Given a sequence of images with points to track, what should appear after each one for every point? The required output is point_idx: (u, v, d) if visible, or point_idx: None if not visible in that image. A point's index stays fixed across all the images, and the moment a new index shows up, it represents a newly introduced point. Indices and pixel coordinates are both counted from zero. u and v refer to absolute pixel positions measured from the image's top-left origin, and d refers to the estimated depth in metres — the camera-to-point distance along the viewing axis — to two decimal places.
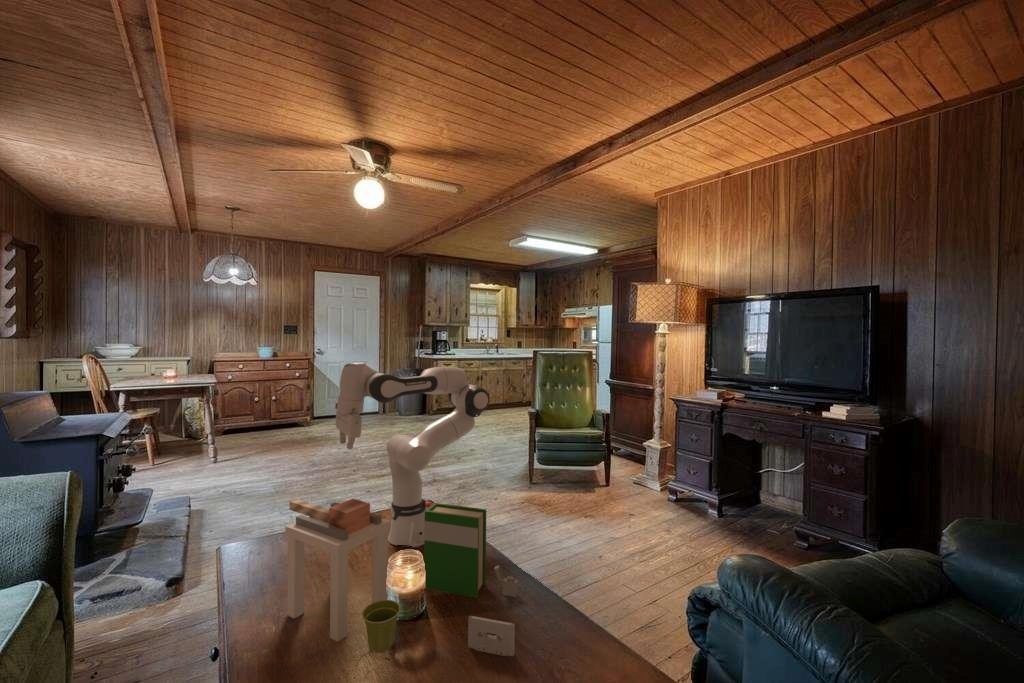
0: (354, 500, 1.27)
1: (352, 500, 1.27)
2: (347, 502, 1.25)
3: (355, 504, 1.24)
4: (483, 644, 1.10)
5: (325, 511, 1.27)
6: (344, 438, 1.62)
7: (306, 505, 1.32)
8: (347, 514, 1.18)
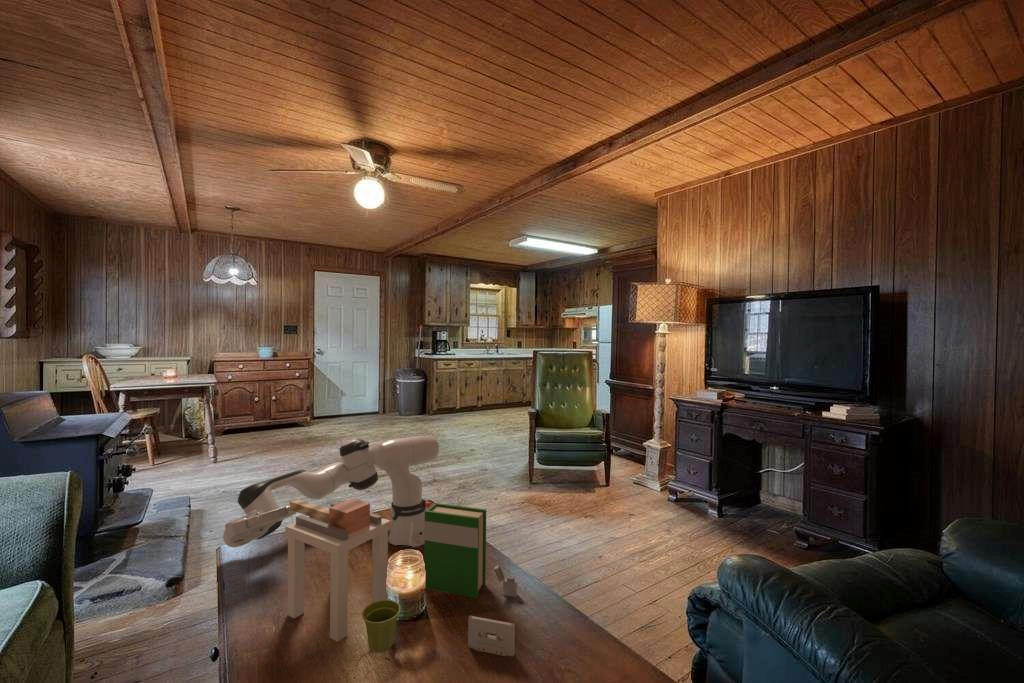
0: (354, 500, 1.27)
1: (352, 500, 1.27)
2: (347, 502, 1.25)
3: (355, 504, 1.24)
4: (483, 644, 1.10)
5: (325, 511, 1.27)
6: None
7: (306, 505, 1.32)
8: (347, 514, 1.18)
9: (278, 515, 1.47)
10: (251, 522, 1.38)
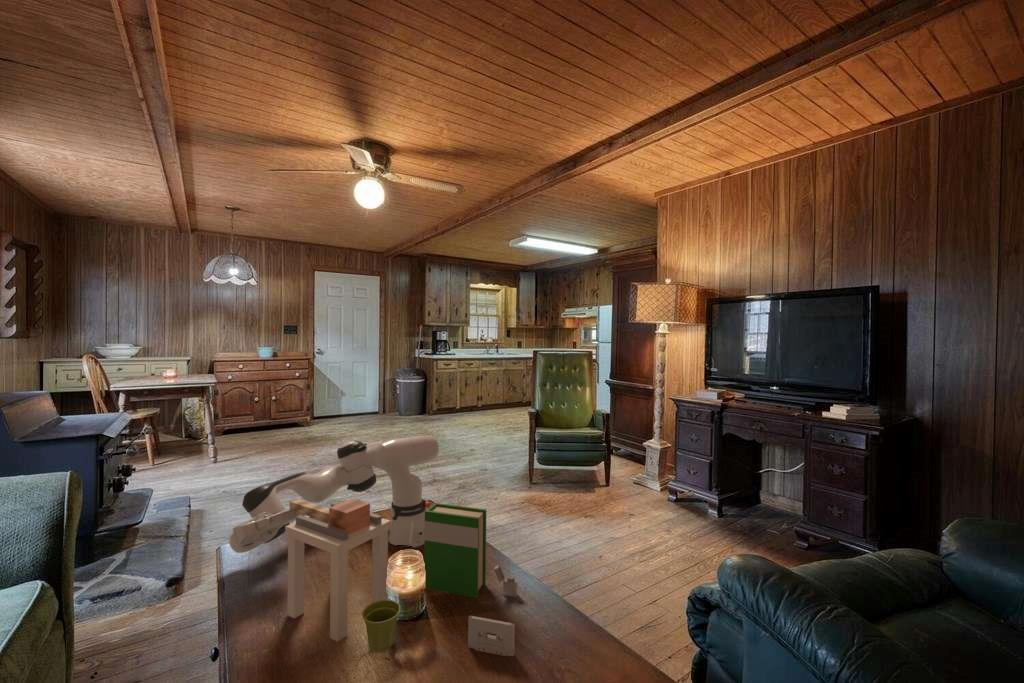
0: (354, 500, 1.27)
1: (352, 500, 1.27)
2: (347, 502, 1.25)
3: (355, 504, 1.24)
4: (483, 644, 1.10)
5: (325, 511, 1.27)
6: None
7: (306, 505, 1.32)
8: (347, 514, 1.18)
9: (288, 517, 1.42)
10: (261, 524, 1.33)
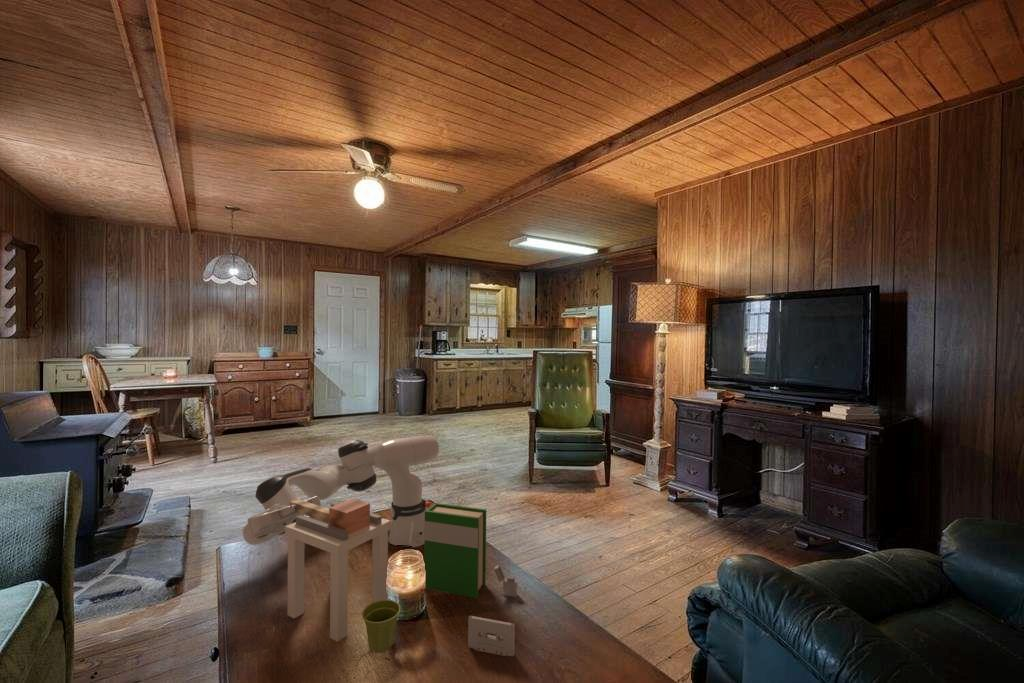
0: (354, 500, 1.27)
1: (352, 500, 1.27)
2: (347, 502, 1.25)
3: (355, 504, 1.24)
4: (483, 644, 1.10)
5: (325, 511, 1.27)
6: None
7: (306, 505, 1.32)
8: (347, 514, 1.18)
9: None
10: (285, 512, 1.32)
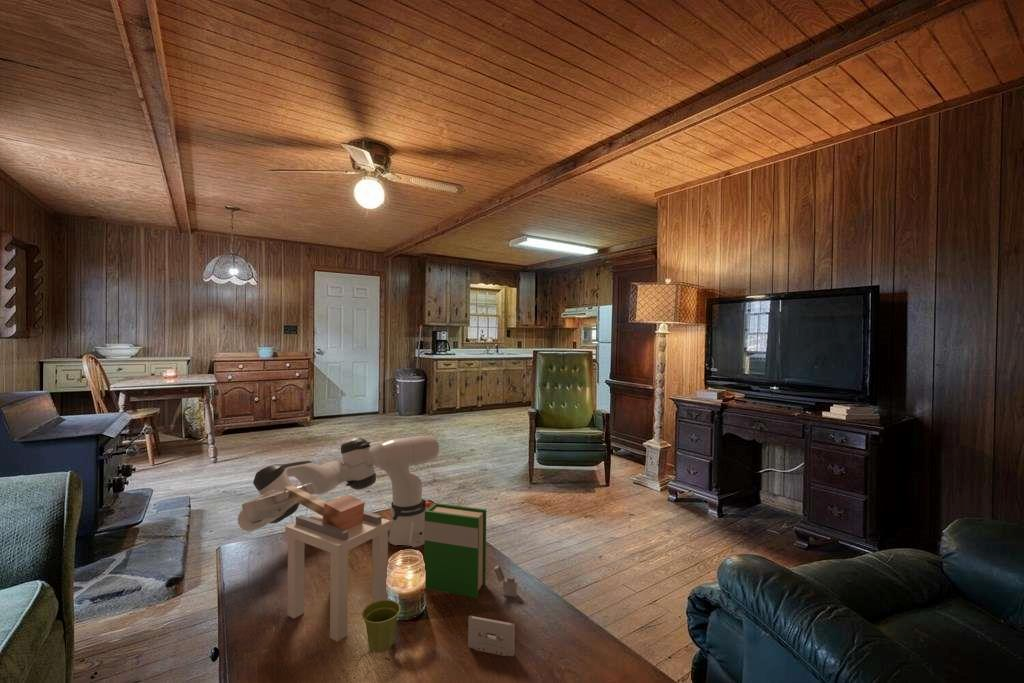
0: (349, 496, 1.28)
1: (347, 496, 1.28)
2: (342, 498, 1.26)
3: (350, 501, 1.25)
4: (483, 644, 1.10)
5: (319, 503, 1.28)
6: None
7: (301, 493, 1.33)
8: (341, 513, 1.19)
9: None
10: (280, 497, 1.33)
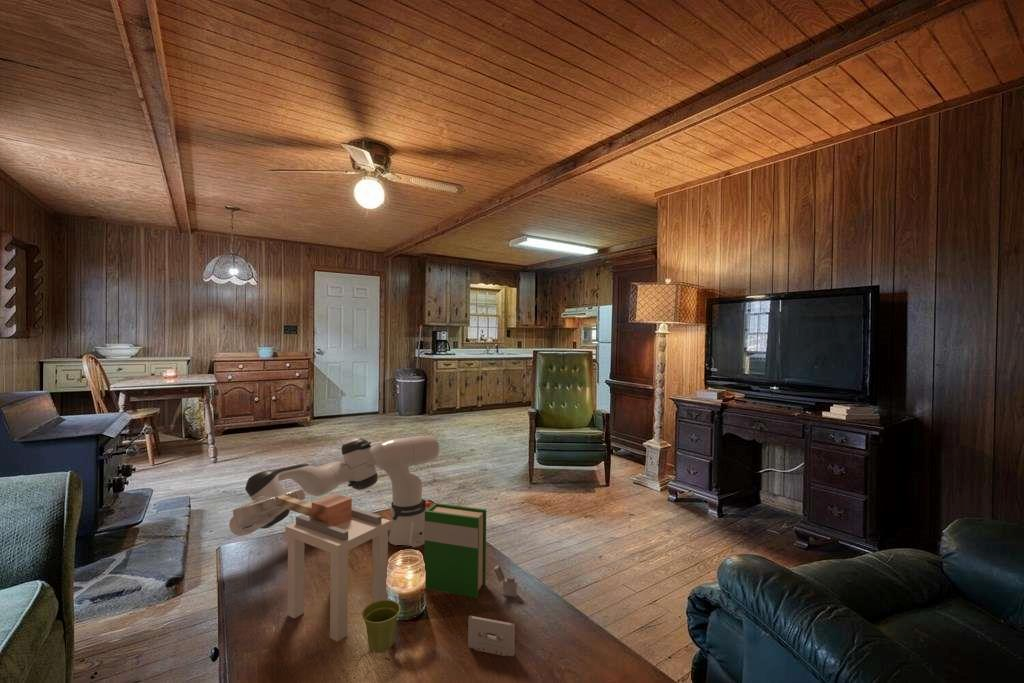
0: (336, 495, 1.31)
1: (334, 495, 1.31)
2: (329, 497, 1.29)
3: (337, 499, 1.28)
4: (483, 644, 1.10)
5: (308, 506, 1.31)
6: None
7: (290, 500, 1.36)
8: (328, 509, 1.22)
9: None
10: (267, 504, 1.36)
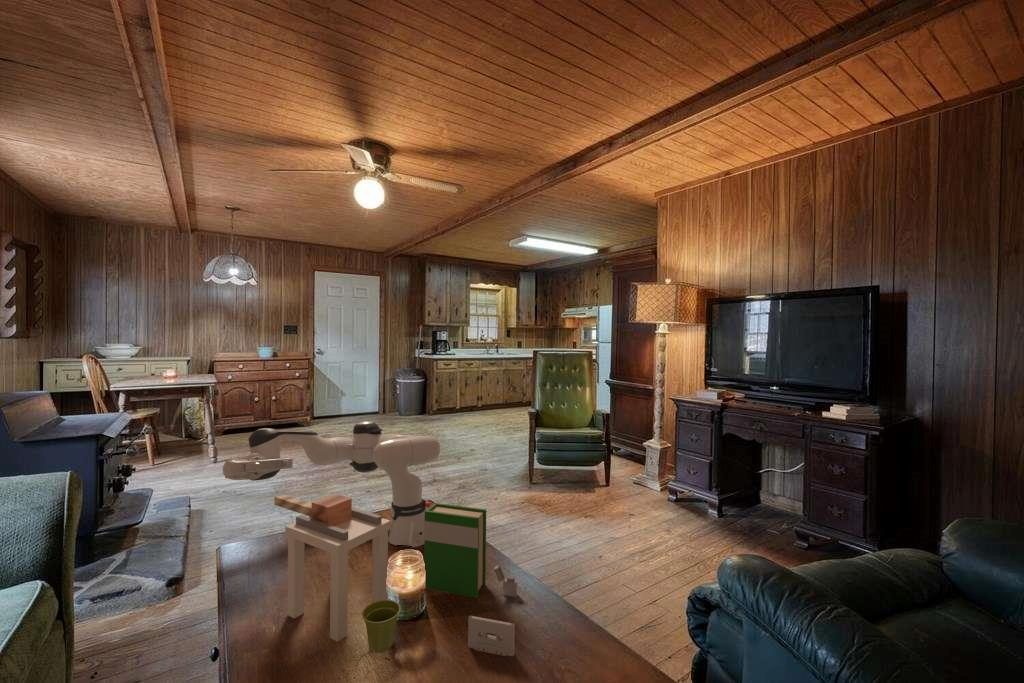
0: (336, 495, 1.31)
1: (334, 495, 1.31)
2: (329, 497, 1.29)
3: (337, 499, 1.28)
4: (483, 644, 1.10)
5: (308, 506, 1.31)
6: None
7: (290, 500, 1.36)
8: (328, 509, 1.22)
9: (275, 465, 1.54)
10: (248, 467, 1.45)
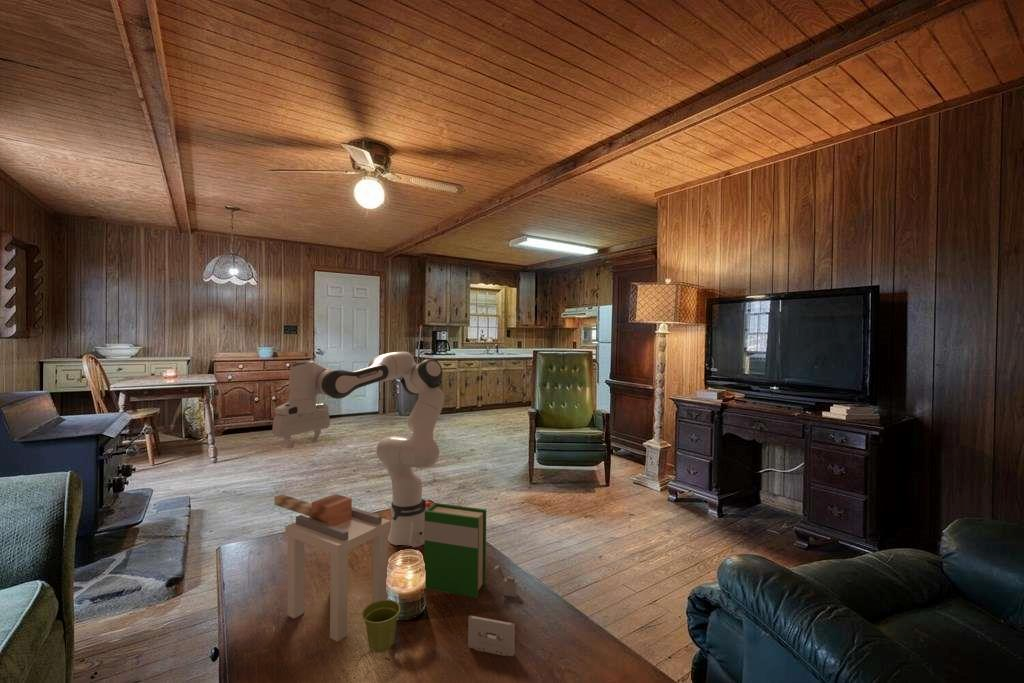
0: (336, 495, 1.31)
1: (334, 495, 1.31)
2: (329, 497, 1.29)
3: (337, 499, 1.28)
4: (483, 644, 1.10)
5: (308, 506, 1.31)
6: None
7: (290, 500, 1.36)
8: (328, 509, 1.22)
9: None
10: (286, 440, 1.52)
